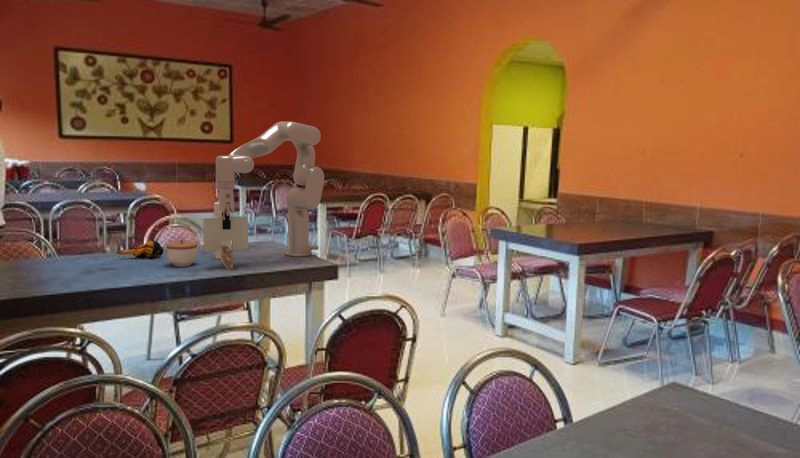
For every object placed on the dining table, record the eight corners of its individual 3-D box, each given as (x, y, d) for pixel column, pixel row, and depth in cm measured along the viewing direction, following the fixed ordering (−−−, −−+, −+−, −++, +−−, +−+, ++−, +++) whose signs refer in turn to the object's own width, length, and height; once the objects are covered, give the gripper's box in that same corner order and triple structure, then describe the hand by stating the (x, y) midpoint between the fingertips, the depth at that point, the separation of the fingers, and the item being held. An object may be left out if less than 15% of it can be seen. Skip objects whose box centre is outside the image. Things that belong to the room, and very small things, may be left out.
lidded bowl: (187, 268, 256) (187, 242, 254) (160, 266, 258) (159, 241, 256) (203, 262, 268) (202, 237, 266) (177, 260, 270) (176, 236, 269)
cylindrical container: (233, 256, 283) (232, 202, 279) (227, 259, 276) (226, 204, 272) (218, 255, 284) (217, 201, 280) (212, 258, 277) (211, 203, 273)
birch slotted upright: (226, 262, 269) (225, 244, 268) (233, 269, 256) (232, 250, 255) (221, 262, 268) (221, 244, 267) (228, 270, 255) (227, 251, 254)
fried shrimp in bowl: (167, 248, 273) (126, 239, 262) (158, 268, 276) (117, 260, 265) (164, 238, 280) (124, 228, 269) (154, 257, 283) (114, 249, 272)
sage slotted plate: (247, 248, 266) (246, 216, 264) (248, 248, 264) (247, 216, 262) (204, 250, 258) (203, 217, 256) (204, 251, 256) (204, 218, 254)
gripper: (238, 187, 251) (238, 231, 254) (230, 183, 265) (231, 225, 268) (219, 187, 248) (220, 232, 251) (212, 184, 262) (213, 226, 265)
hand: (226, 228), depth 259 cm, fingers closed on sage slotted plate, 2 cm apart
